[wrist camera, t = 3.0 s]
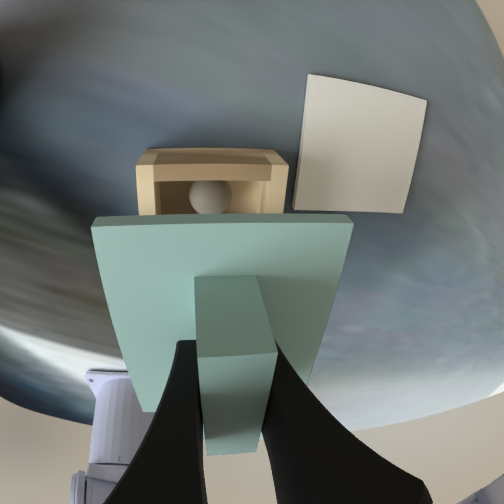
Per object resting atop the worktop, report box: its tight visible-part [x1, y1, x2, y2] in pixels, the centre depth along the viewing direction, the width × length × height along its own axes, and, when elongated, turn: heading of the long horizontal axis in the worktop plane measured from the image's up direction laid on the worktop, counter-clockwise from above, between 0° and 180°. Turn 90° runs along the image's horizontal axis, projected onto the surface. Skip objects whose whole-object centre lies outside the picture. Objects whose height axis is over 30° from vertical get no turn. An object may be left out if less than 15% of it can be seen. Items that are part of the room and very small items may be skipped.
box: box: [136, 148, 289, 215], centre depth 18 cm, size 9×7×3 cm
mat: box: [292, 74, 427, 213], centre depth 18 cm, size 8×8×1 cm
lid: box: [91, 213, 354, 456], centre depth 10 cm, size 9×7×4 cm
